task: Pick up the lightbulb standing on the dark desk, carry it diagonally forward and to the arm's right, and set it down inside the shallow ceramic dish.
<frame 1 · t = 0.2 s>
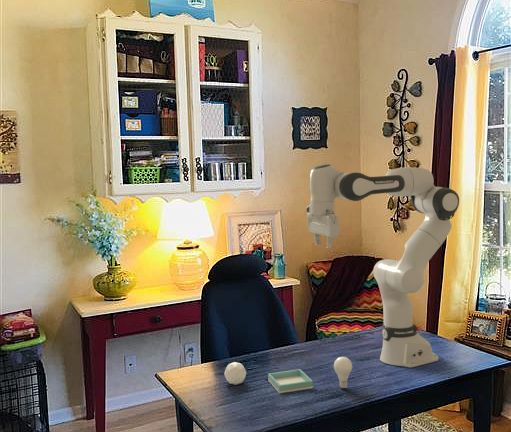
hand: (323, 246, 213), 47 cm above the table, fingers open, 8 cm apart
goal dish: (290, 384, 205), on the table
geometric ball: (235, 384, 208), on the table
lightbulb: (343, 388, 200), on the table
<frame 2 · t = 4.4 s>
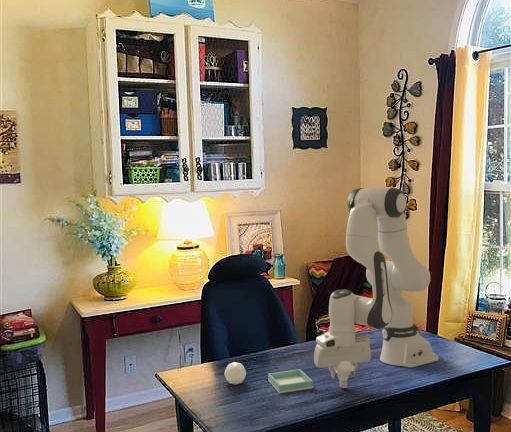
hand: (343, 376, 200), 4 cm above the table, fingers closed on lightbulb, 5 cm apart
lightbulb: (343, 388, 200), on the table, touching gripper
everything else where it was.
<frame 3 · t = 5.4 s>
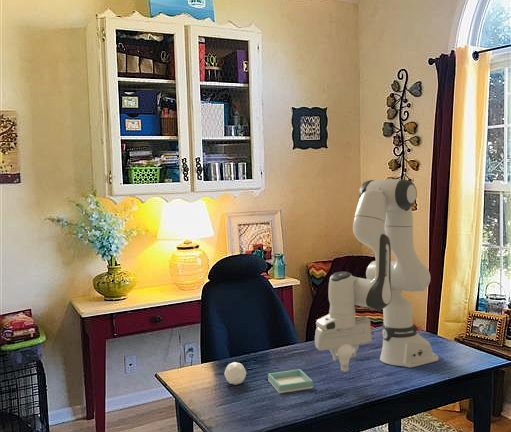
hand: (344, 358, 200), 10 cm above the table, fingers closed on lightbulb, 5 cm apart
lightbulb: (344, 372, 200), point 5 cm above the table, touching gripper
everything else where it was.
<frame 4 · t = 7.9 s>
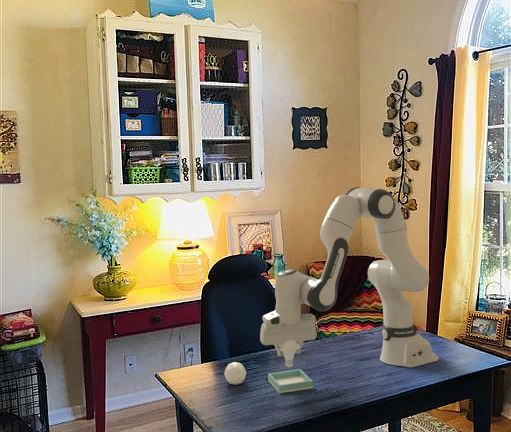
hand: (289, 354, 204), 11 cm above the table, fingers closed on lightbulb, 5 cm apart
lightbulb: (289, 367, 204), point 6 cm above the table, touching gripper
everything else where it was.
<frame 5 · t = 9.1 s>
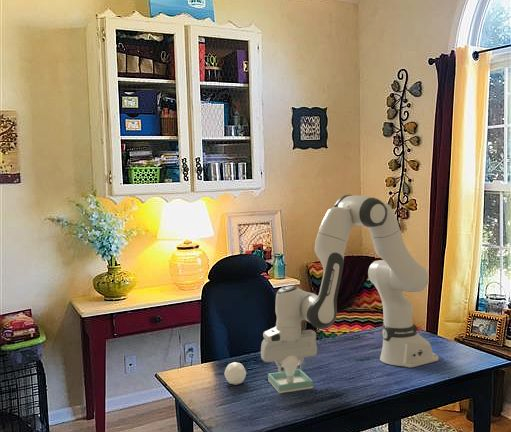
hand: (289, 370, 205), 5 cm above the table, fingers closed on lightbulb, 5 cm apart
lightbulb: (290, 383, 205), resting on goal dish, touching gripper
everything else where it was.
when the fingers open (5 cm above the table, at t = 10.7 s): lightbulb stays where it is, resting on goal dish.
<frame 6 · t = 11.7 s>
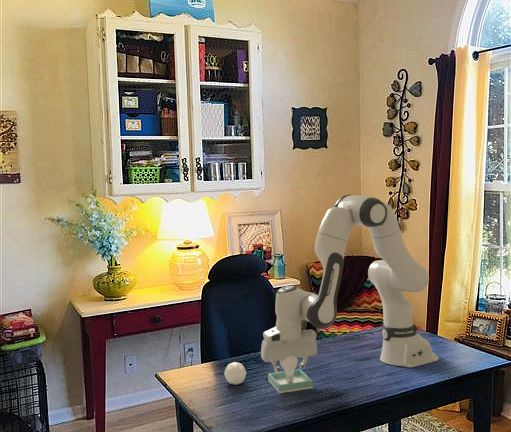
hand: (289, 370, 205), 5 cm above the table, fingers open, 8 cm apart
lightbulb: (290, 383, 205), resting on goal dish
everything else where it was.
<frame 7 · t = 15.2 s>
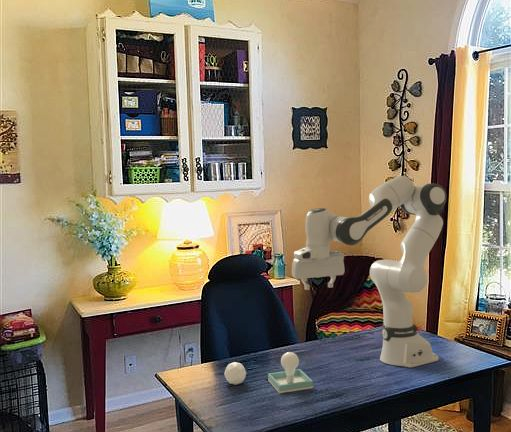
hand: (318, 288, 216), 31 cm above the table, fingers open, 8 cm apart
nothing on the table moved.
at the end: lightbulb 0.2 cm from the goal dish (horizontally); lightbulb resting on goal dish; the gripper is holding nothing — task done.
